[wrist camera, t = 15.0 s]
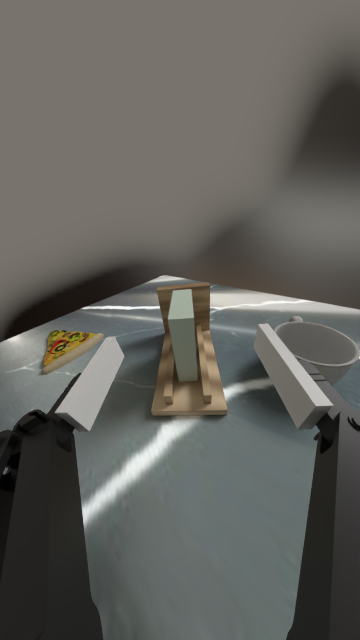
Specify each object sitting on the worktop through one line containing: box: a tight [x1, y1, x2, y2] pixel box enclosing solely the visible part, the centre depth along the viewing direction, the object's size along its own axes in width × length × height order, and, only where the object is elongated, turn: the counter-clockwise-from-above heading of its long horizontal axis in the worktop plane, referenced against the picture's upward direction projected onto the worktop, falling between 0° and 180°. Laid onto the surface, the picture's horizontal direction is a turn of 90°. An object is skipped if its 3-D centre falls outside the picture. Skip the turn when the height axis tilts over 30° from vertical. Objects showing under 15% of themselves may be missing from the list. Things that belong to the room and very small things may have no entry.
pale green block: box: [168, 289, 198, 382], centre depth 27 cm, size 10×4×14 cm, turn 178°
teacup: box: [274, 316, 360, 385], centre depth 27 cm, size 14×11×8 cm
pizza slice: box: [43, 330, 104, 374], centre depth 43 cm, size 16×21×3 cm
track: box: [151, 282, 227, 416], centre depth 29 cm, size 22×12×14 cm, turn 178°
